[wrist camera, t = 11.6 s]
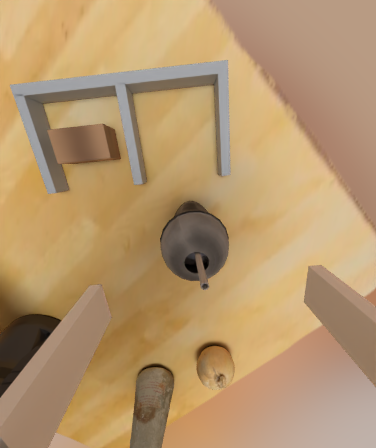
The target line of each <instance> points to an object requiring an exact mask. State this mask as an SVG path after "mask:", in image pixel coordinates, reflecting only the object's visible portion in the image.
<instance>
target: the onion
mask: <svg viewBox="0 0 376 448" xmlns="http://www.w3.org/2000/svg"><path fill="white" fill-rule="evenodd" d="M234 371H235V367H234V362H233V359H232V357H231V355H230V354H229V352H228V351H227V350H226V349H225V348H223V347H219V346H211V347H208V348H205V349H204V350H203V351H202V352H201V354H200V357H199V359H198V361H197V373H198V376H199V379H200V380H201V382H202V383H203V385H204V386H206V387H208V388H209V389H212V390H220V389H223V388H226V387H227V386H228V385H229V384H230V383H231V381H232V379H233V376H234Z"/></svg>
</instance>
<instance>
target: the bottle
mask: <svg viewBox="0 0 376 448" xmlns="http://www.w3.org/2000/svg"><path fill="white" fill-rule="evenodd" d="M173 388H174V379H173V377H172V374H171V373H170V372H169V371H168V370H166V369H163V368H159V367H152V368H147V369H143V370H142V372H141V373H140V374H139V376H138V378H137V381H136V392H135V404H134V413H133V423H132V433H131V440H130V448H161V447H162V442H163V437H164V432H165V427H166V422H167V417H168V412H169V409H170V402H171V398H172V393H173Z"/></svg>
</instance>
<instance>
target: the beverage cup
mask: <svg viewBox="0 0 376 448" xmlns="http://www.w3.org/2000/svg"><path fill="white" fill-rule="evenodd" d="M160 242H161V251H162V256H163V258H164V261H165V263H166V265H167V267H168V268H169V269H170V270H171V271H172V272H173V273H174V274H175V275H177V276H179V277H181V278H182V279H186V280H190V281H200V285H201V289H203V290H207V289H208V288H209V284H208V281H207V279H208V278H210V277H212V276H213V275H215V274H216V273H217V272H218V271H219V270H220V269H221V268H222V267H223V265H224V264H225V261H226V259H227V256H228V250H229V241H228V234H227V231H226V228H225V226H224V225H223V224H222V222H221V221H220V220H219V219H218V218H216V217H215V216H213V215H212V214H210V213H208V212H207V211H206V210H205V209H204V207H203V206H201V205H200V204H199V203H197V202H194V201H189V202H186V203H184V204H182V205H181V206H180V208H179V209H178V210H177V212H176V214H175V216H174V218H172V219H171V220H169V222H168V223H167V224H166V226H165V227H164V229H163V231H162V235H161V238H160Z"/></svg>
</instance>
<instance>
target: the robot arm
mask: <svg viewBox="0 0 376 448" xmlns="http://www.w3.org/2000/svg"><path fill="white" fill-rule="evenodd" d="M304 303H305V304H306V305H307V306H308V307H309V308H310V310H311V311H312V312H313V313H314V314H315V316H316V317H317V318H318V319H319V320H320V322H321V323H322V324H323V325H324V326H325V327H326V329H327V330H328V331H329V332H330V333H331V335H332V336H333V337H334V338H335V339H336V340H337V342H338V343H339V344H340V345H341V346H342V348H343V349H344V350H345V351H346V352H347V353H348V355H349V356H350V357H351V358H352V360H353V361H354V362H355V363H356V364H357V365H358V367H359V368H360V369H361V370H362V371H363V373H364V374H365V375H366V376H367V377H368V379H369V380H370V381H371V382H372V383H373V384H374V386H375V387H376V306H374V305H373V304H372V303H370V302H369V301H368V300H366V299H365V298H364V297H363V296H361V295H360V294H359V293H357V292H356V291H355V290H353V289H352V288H351V287H349V286H348V285H347V284H345V283H344V282H343V281H341V280H340V279H339V278H338V277H336V276H335V275H334V274H332V273H331V272H330V271H328V270H327V269H326V268H324V267H323V266H322V265H317V266H309V268H308V275H307V282H306V289H305V296H304ZM111 318H112V317H111V313H110V310H109V307H108V304H107V300H106V297H105V294H104V291H103V287H102V284H99V285H90V286H89V287H88V288H87V290H86V291H85V292H84V293H83V295H82V296H81V297H80V298H79V300H78V301H77V302H76V303H75V305H74V306H73V307H72V308H71V310H70V311H69V312H68V313H67V315H66V316H65V317H64V318H63V320H62V321H59V320H57V319H55V318H52V317H48V316H43V315H27V316H23V317H20V318H18V319H16V320H14V321H13V322H12V323H11V324H10V325H9V326H8V327H7V328H6V329H4V330H3V331H2V333H1V334H0V448H48V447H49V445H50V443H51V441H52V439H53V437H54V435H55V433H56V431H57V429H58V426H59V424H60V422H61V420H62V418H63V416H64V414H65V412H66V410H67V408H68V406H69V404H70V402H71V400H72V398H73V396H74V394H75V392H76V390H77V388H78V386H79V383H80V381H81V379H82V377H83V375H84V373H85V371H86V369H87V367H88V365H89V363H90V361H91V359H92V357H93V355H94V353H95V351H96V349H97V347H98V345H99V343H100V340H101V338H102V336H103V334H104V332H105V330H106V328H107V326H108V324H109V322H110V320H111Z"/></svg>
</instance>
